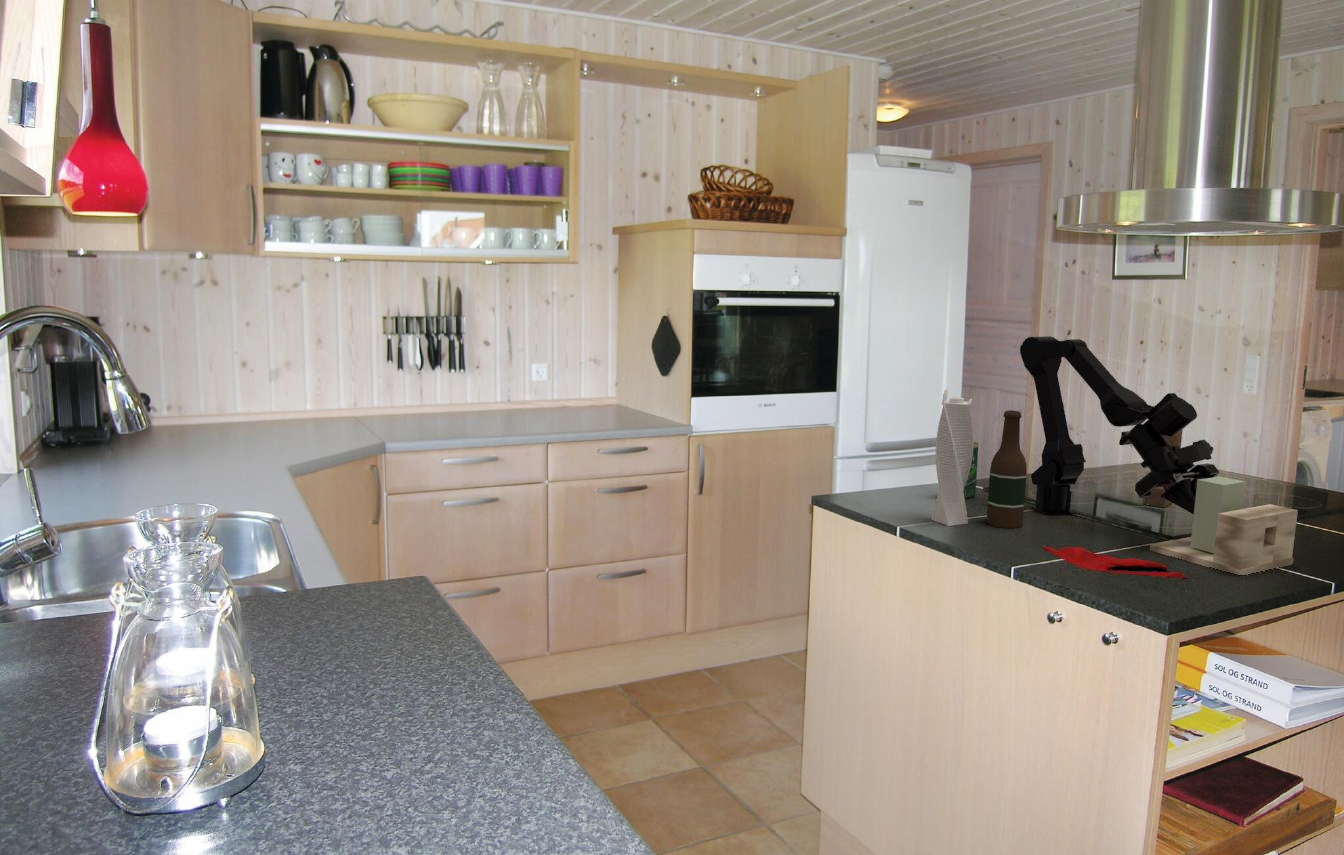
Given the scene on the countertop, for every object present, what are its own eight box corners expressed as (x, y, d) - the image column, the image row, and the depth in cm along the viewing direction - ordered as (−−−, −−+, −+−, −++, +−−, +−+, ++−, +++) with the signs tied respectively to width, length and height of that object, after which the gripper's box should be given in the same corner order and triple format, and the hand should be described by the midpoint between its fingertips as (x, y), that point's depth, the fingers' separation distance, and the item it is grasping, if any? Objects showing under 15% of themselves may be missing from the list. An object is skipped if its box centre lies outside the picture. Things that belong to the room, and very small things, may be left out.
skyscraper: (922, 518, 204) (930, 388, 200) (950, 515, 207) (959, 387, 202) (947, 527, 197) (955, 393, 192) (975, 524, 200) (984, 392, 195)
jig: (1149, 550, 183) (1155, 498, 181) (1200, 540, 190) (1206, 490, 189) (1241, 576, 168) (1248, 520, 166) (1292, 564, 175) (1299, 510, 174)
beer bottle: (1030, 524, 201) (1039, 411, 197) (1014, 531, 195) (1023, 415, 191) (994, 517, 206) (1002, 407, 202) (978, 523, 201) (986, 410, 197)
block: (1190, 546, 180) (1197, 479, 178) (1212, 542, 184) (1219, 476, 181) (1237, 559, 172) (1245, 489, 170) (1260, 554, 176) (1268, 485, 174)
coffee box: (952, 501, 220) (956, 445, 218) (943, 499, 222) (946, 443, 220) (976, 497, 224) (980, 442, 222) (966, 495, 227) (970, 440, 224)
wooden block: (1164, 508, 217) (1172, 430, 214) (1143, 504, 220) (1150, 427, 217) (1175, 501, 223) (1183, 425, 220) (1154, 498, 226) (1162, 423, 223)
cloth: (1021, 554, 181) (1022, 543, 181) (1065, 544, 189) (1066, 533, 188) (1154, 593, 160) (1155, 580, 160) (1197, 580, 167) (1199, 567, 167)
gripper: (1154, 429, 179) (1205, 498, 171) (1214, 423, 188) (1265, 489, 180) (1114, 463, 187) (1160, 531, 179) (1173, 455, 196) (1220, 520, 188)
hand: (1203, 517), depth 181 cm, fingers closed, pressing on block
